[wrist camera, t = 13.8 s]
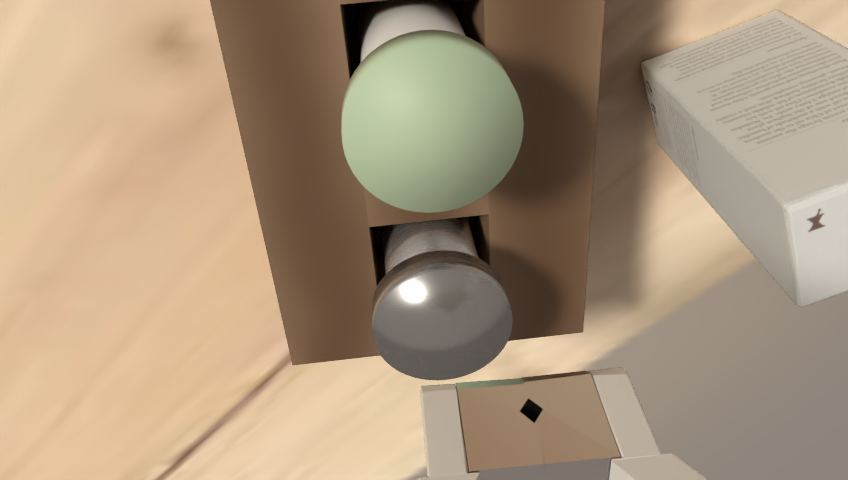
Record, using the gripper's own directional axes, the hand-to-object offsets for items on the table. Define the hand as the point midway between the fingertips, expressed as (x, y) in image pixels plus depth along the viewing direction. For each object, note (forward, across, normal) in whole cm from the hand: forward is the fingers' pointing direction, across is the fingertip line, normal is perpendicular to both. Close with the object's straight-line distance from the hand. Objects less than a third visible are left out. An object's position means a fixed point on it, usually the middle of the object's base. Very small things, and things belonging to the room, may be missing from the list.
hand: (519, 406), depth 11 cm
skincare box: (+22, -12, +4) cm, 25 cm away
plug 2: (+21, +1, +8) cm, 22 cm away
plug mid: (+19, +1, 0) cm, 19 cm away
